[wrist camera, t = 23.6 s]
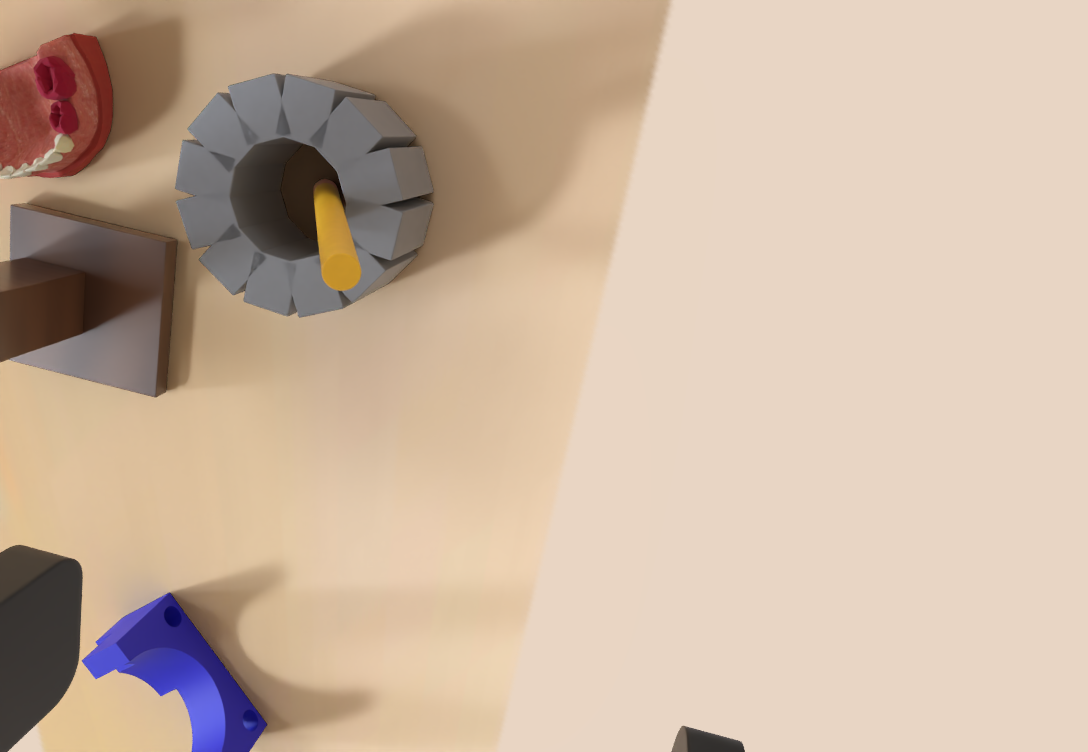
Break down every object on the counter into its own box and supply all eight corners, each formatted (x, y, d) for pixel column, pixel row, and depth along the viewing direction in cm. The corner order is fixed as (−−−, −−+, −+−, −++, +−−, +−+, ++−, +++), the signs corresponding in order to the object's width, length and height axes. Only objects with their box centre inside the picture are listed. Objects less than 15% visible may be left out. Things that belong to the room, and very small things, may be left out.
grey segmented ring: (206, 111, 47) (144, 108, 42) (400, 59, 45) (363, 48, 39) (269, 311, 50) (219, 334, 45) (454, 272, 48) (427, 290, 42)
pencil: (337, 204, 48) (313, 202, 47) (338, 179, 47) (312, 178, 47) (360, 292, 30) (321, 290, 29) (362, 254, 29) (321, 252, 29)
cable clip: (123, 617, 58) (65, 669, 53) (169, 592, 57) (115, 643, 51) (220, 745, 60) (174, 809, 55) (267, 724, 59) (225, 787, 54)
